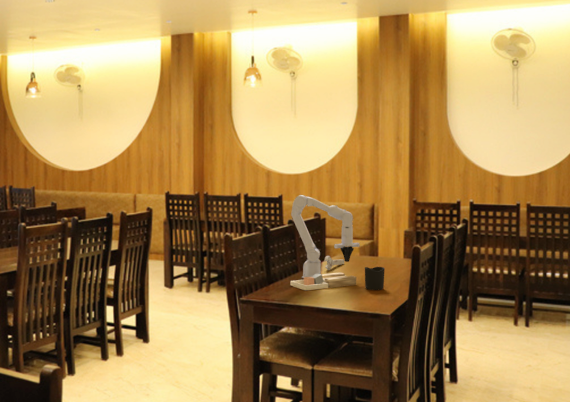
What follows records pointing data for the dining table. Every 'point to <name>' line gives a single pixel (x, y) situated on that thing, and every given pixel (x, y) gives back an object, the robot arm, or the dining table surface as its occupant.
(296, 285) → the tray
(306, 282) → the terracotta cube
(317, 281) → the matte grey cube
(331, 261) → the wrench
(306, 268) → the robot arm
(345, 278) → the grooved board
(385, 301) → the dining table surface
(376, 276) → the pen holder
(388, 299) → the dining table surface
